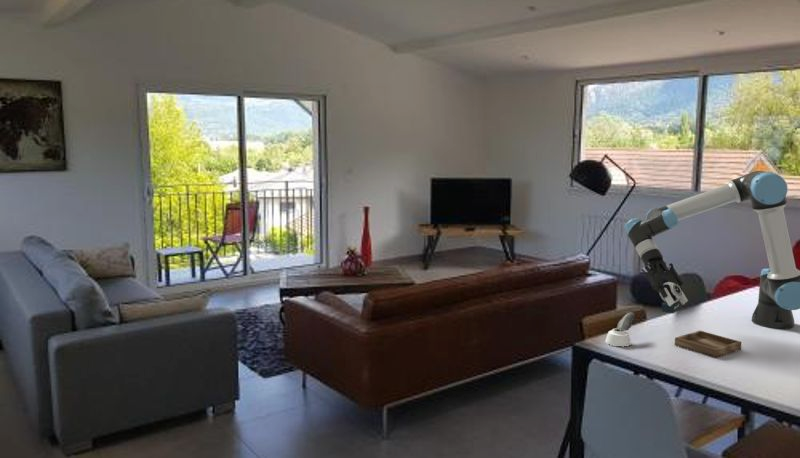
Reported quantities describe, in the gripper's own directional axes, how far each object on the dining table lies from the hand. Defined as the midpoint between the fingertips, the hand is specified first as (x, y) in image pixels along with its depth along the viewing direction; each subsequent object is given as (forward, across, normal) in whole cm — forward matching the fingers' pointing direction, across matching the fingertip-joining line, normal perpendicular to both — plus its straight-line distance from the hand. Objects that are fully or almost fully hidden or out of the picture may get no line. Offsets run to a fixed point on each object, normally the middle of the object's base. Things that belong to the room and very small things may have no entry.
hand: (678, 303), depth 236 cm
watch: (0, 0, -6) cm, 6 cm away
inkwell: (+5, +19, -15) cm, 25 cm away
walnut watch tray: (+18, -4, -3) cm, 19 cm away
